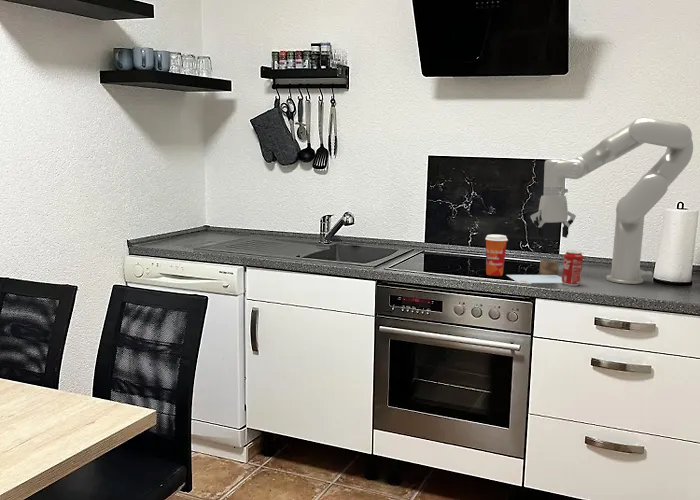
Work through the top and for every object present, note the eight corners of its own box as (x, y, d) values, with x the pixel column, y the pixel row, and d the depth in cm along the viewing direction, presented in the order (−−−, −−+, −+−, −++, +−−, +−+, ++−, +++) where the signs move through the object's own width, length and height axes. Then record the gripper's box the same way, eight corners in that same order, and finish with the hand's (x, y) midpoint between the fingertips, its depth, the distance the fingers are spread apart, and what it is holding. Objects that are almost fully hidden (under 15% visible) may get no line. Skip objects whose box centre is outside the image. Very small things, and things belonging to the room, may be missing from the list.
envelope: (556, 275, 263) (556, 275, 263) (573, 283, 248) (573, 283, 248) (505, 275, 261) (505, 274, 261) (519, 283, 246) (519, 282, 246)
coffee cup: (479, 275, 260) (481, 235, 257) (488, 272, 267) (490, 233, 264) (501, 278, 255) (503, 237, 253) (509, 275, 262) (511, 235, 260)
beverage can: (565, 281, 250) (568, 248, 247) (582, 284, 246) (586, 251, 243) (558, 284, 245) (561, 251, 243) (576, 288, 241) (579, 254, 239)
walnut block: (551, 273, 269) (552, 260, 268) (557, 275, 264) (557, 262, 263) (539, 273, 268) (540, 260, 268) (544, 275, 263) (545, 262, 263)
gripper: (571, 191, 266) (570, 235, 268) (528, 192, 264) (526, 236, 266) (580, 192, 258) (578, 238, 261) (535, 193, 257) (533, 239, 259)
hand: (552, 237), depth 264 cm, fingers open, 9 cm apart
